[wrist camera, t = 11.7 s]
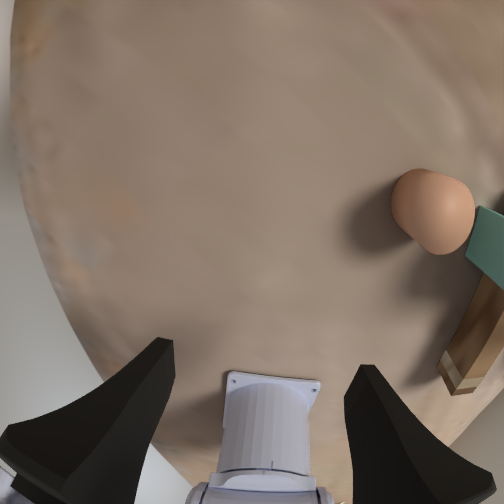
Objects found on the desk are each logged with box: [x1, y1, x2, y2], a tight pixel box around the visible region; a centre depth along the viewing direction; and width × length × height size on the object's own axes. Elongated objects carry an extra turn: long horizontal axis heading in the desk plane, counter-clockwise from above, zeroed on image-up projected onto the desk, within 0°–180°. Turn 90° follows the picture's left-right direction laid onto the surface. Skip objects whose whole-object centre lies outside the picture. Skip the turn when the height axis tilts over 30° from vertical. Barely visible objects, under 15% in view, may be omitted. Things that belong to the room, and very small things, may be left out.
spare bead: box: [391, 169, 475, 255], centre depth 15 cm, size 4×4×4 cm
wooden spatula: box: [437, 272, 504, 396], centre depth 16 cm, size 18×3×4 cm, turn 173°
